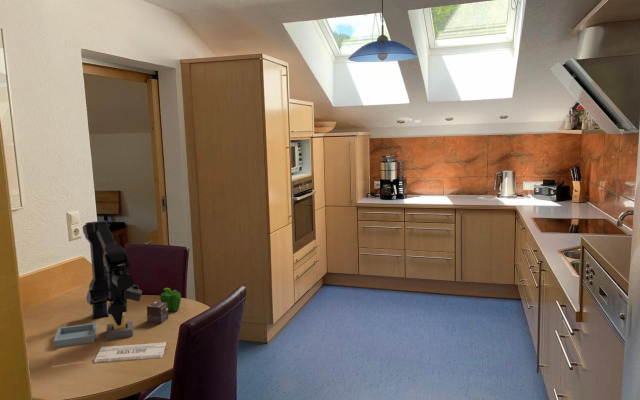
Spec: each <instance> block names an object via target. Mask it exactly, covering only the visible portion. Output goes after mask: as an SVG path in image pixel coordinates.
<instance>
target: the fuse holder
mask: <svg viewBox="0 0 640 400" xmlns="http://www.w3.org/2000/svg"><path fill="white" fill-rule="evenodd" d="M133 322H134V321H133V320H132V321H131V320H130V321H125V326H126V328H125V329H117V330H114V325H113V323H109V324H106V332H105V336H106V337H105V338H106V341H108V340H115V339H124V338H131V337H133V336H134V324H133Z"/></svg>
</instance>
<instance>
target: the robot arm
mask: <svg viewBox="0 0 640 400" xmlns="http://www.w3.org/2000/svg"><path fill="white" fill-rule="evenodd" d="M82 232H83V234H84V238H85V239H86V240H87V242H88V243H89V247H90V260H91V262H90V263H91V271H92V279H91V281H90V283H89V285H88V291H87V294H86V302H87V304H88V305H89V306H91V308H92V310H91V311H92V313H91V318H90V319H91V320H95V319H105V318H109V315H111V317H112V319H113V318H114V320H115V321H116V323H117V325H118V326H119V325H121V321H122V315H123V313H127V312H128V304H127V303H128V300H132V301H135V302H140V301H141V298H142V295H143V291H142V290H141V289H139V285H137V284H134V278H133V276H132V275H131V274H129V273H128V270H130V269H131V261H130V260H131V259H130V258H129V255H128V254H127V251H125V250H124V248H123V247H122V245H120V244H117V242H116V241H115V238H114V237H113V234H112V232H111V229H110V228H109V223H108V221H106V220H98V221H89V222H86V223H85V224H84V225H83V226H82ZM105 269H106V271H107V278H106V274H105ZM108 302H109V304H108Z"/></svg>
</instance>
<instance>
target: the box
mask: <svg viewBox="0 0 640 400" xmlns="http://www.w3.org/2000/svg"><path fill="white" fill-rule="evenodd" d="M146 316H147V317H146V318H147V324H152V325H153V324H155V325H162V324H163V323H165V322H166V321H168V320H169V311H168V305H167V302H161V301H154V302H151V303H150V304H149V305H147V306H146Z"/></svg>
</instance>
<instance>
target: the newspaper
mask: <svg viewBox="0 0 640 400" xmlns="http://www.w3.org/2000/svg"><path fill="white" fill-rule="evenodd" d="M167 344H168V342H167V341H166V342H165V341H164V342H162V341H160V342H153V343H142V344H141V343H139V344H138V343H137V344H127V345H125V344H124V345H114V346H113V345H112V346H111V345H110V346H101V347H100V348H99V351H98V352H97V354H96V356H95V358H94V362H93V363H94V364H101V363H114V362H128V361H138V360H151V359H162V358H164V352H165V349H166V346H167Z"/></svg>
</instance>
